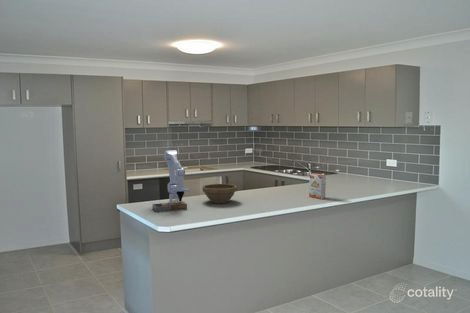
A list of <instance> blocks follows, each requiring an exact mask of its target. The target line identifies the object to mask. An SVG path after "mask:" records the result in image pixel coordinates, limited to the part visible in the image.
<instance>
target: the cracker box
mask: <svg viewBox="0 0 470 313" xmlns="http://www.w3.org/2000/svg"><path fill="white" fill-rule="evenodd" d="M326 180H327V176H326V174H320V173H313V172H311V173H309V181H308V183H309V184H308V190H309V191H308V197H309V198H313V199H317V200H324V199H326V185H327V184H326V183H327V181H326Z"/></svg>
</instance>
